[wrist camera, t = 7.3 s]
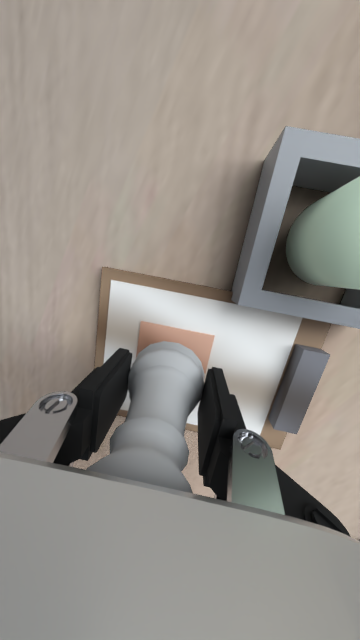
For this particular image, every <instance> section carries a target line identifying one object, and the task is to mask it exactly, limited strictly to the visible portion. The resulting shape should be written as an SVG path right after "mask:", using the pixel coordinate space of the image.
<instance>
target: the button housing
mask: <svg viewBox="0 0 360 640" xmlns="http://www.w3.org/2000/svg"><path fill="white" fill-rule="evenodd" d="M359 176H360V139H357V138H351V137H346V136H340V135H334V134H328V133H323V132H317V131H311V130H305V129H300V128H294V127H288V126H285V128H284V130H283V131H282V133H281V134H280V136H279V138H278V139H277V141H276V142H275V144H274V146H273V147H272V149H271V150H270V152H269V154H268V155H267V157H266V158H265V161H264V165H263V169H262V172H261V176H260V180H259V184H258V188H257V192H256V196H255V200H254V204H253V208H252V212H251V216H250V220H249V224H248V228H247V231H246V235H245V239H244V243H243V247H242V251H241V255H240V259H239V263H238V267H237V271H236V275H235V279H234V283H233V287H232V290H231V291H232V292H233V295H232V299H231V300H232V301H233V302H235V303H236V304H237V305H241V306H246V307H251V308H256V309H261V310H266V311H271V312H277V313H282V314H287V315H292V316H297V317H302V318H307V319H312V320H317V321H323V322H328V323H333V324H338V325H343V326H348V327H353V328H358V329H360V290H358V289H348V288H347V289H346V291H345V294H344V296H343V298H342V301H341V303H340V304H335V303H330V302H325V301H320V300H315V299H309V298H304V297H299V296H294V295H289V294H284V293H278V292H273V291H268V290H263V289H262V287H263V284H264V280H265V277H266V273H267V270H268V267H269V263H270V260H271V256H272V253H273V250H274V246H275V243H276V239H277V236H278V233H279V229H280V226H281V222H282V219H283V216H284V212H285V209H286V205H287V202H288V199H289V195H290V192H291V188H292V186H298V187H303V188H309V189H315V190H320V191H326V192H331V193H332V192H333V191H335V190H337V189H339V188H340V187H342V186H344V185H346V184H347V183H349V182H351V181H352V180H354V179H356V178H358V177H359Z"/></svg>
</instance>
